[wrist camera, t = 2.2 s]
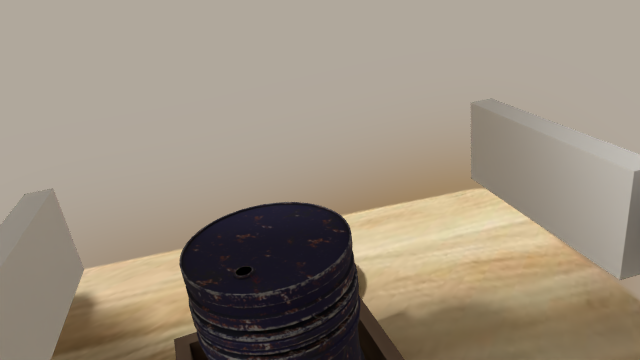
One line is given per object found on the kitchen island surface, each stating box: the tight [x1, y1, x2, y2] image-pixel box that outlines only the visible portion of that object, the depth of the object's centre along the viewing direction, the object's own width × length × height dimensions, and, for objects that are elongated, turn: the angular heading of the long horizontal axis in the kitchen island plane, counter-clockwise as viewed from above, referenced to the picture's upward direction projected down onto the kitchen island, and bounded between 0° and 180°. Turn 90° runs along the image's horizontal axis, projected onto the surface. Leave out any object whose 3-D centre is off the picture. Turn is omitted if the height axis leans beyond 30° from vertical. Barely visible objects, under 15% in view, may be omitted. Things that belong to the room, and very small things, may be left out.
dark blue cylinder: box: [180, 202, 365, 360], centre depth 31 cm, size 10×10×15 cm
